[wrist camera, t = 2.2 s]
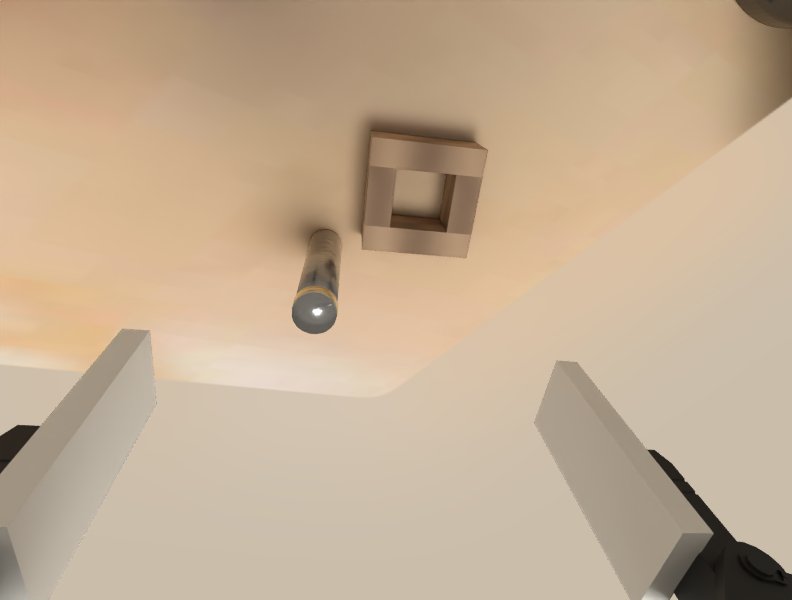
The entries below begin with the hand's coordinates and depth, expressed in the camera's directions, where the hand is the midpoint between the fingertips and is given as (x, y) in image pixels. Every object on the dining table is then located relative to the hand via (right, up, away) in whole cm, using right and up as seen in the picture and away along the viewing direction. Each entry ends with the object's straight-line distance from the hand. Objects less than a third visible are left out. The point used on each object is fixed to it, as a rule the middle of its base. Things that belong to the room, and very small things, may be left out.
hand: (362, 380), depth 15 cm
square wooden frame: (+3, +13, +27) cm, 30 cm away
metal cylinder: (-6, +8, +29) cm, 30 cm away
